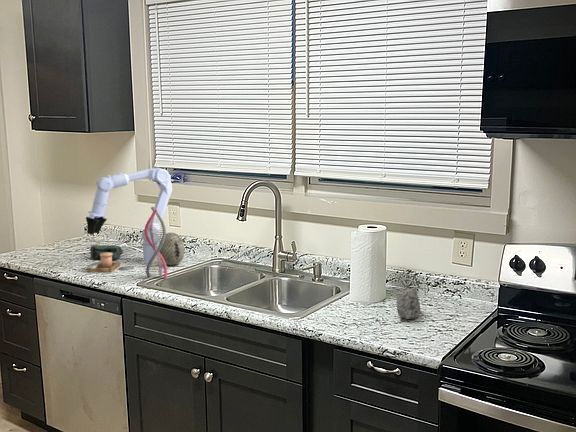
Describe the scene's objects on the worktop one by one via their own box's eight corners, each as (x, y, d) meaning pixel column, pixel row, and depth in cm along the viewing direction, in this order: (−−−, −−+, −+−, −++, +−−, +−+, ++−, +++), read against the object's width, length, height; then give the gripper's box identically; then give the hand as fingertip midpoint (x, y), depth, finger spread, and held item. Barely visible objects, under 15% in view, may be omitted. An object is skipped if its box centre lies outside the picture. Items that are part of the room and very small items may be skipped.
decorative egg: (167, 269, 281) (165, 236, 278) (154, 264, 290) (153, 232, 287) (189, 265, 288) (188, 233, 286) (177, 260, 297) (176, 229, 295)
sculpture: (123, 247, 307) (92, 253, 305) (119, 236, 302) (88, 242, 300) (124, 264, 298) (92, 270, 296) (120, 252, 293) (88, 259, 291)
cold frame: (120, 266, 287) (120, 260, 286) (111, 273, 274) (110, 267, 274) (96, 265, 287) (96, 260, 287) (86, 273, 275) (86, 267, 274)
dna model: (162, 281, 261) (160, 209, 256) (142, 280, 263) (139, 209, 258) (170, 275, 270) (168, 206, 265) (151, 274, 272) (148, 206, 267)
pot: (114, 267, 283) (114, 252, 282) (110, 270, 278) (110, 255, 277) (103, 267, 283) (102, 252, 282) (98, 270, 278) (98, 254, 277)
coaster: (135, 267, 284) (135, 266, 284) (131, 271, 278) (131, 270, 278) (121, 267, 285) (121, 266, 285) (116, 271, 278) (116, 269, 278)
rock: (410, 305, 227) (408, 281, 224) (431, 309, 222) (429, 284, 219) (390, 323, 215) (387, 298, 213) (411, 328, 210) (409, 301, 208)
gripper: (97, 201, 288) (90, 230, 288) (85, 201, 273) (78, 232, 274) (111, 205, 287) (105, 234, 288) (100, 205, 273) (93, 236, 273)
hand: (93, 233), depth 281 cm, fingers open, 7 cm apart
